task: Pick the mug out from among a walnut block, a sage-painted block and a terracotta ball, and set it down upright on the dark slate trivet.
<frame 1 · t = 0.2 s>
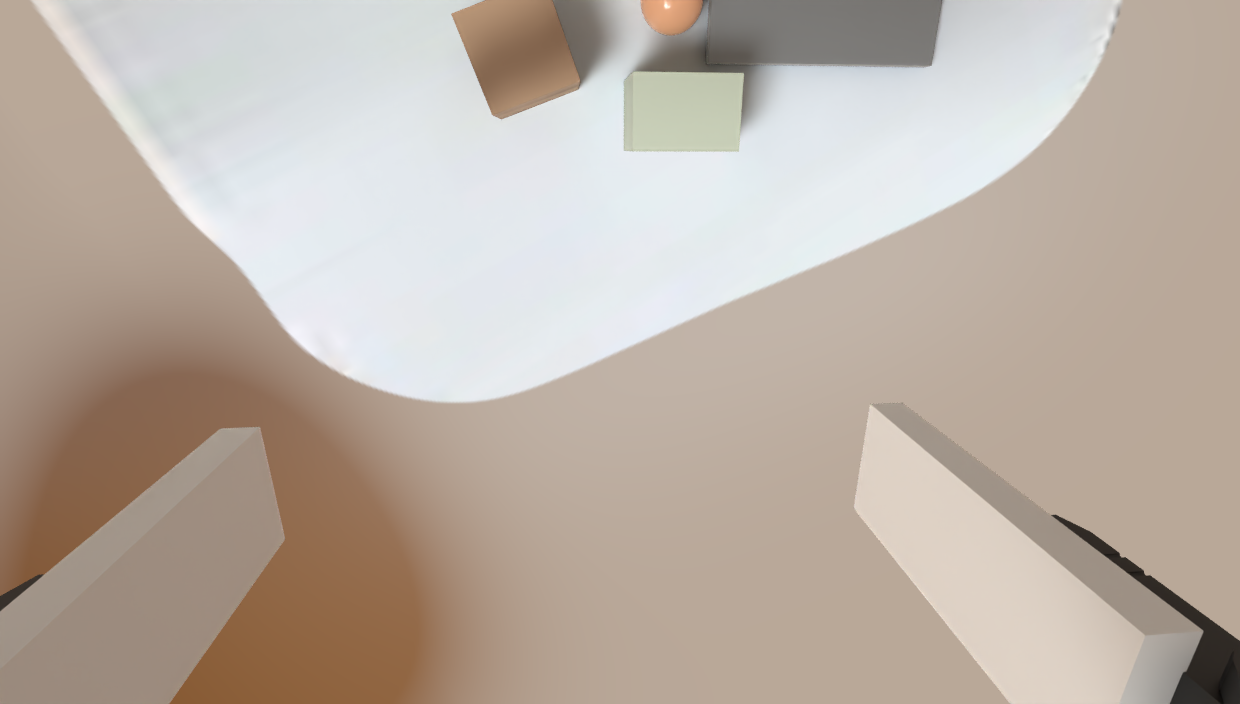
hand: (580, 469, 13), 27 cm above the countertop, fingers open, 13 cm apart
terracotta ball: (671, 0, 33), point 2 cm above the countertop
walnut block: (523, 61, 35), on the countertop
sage block: (671, 116, 37), on the countertop
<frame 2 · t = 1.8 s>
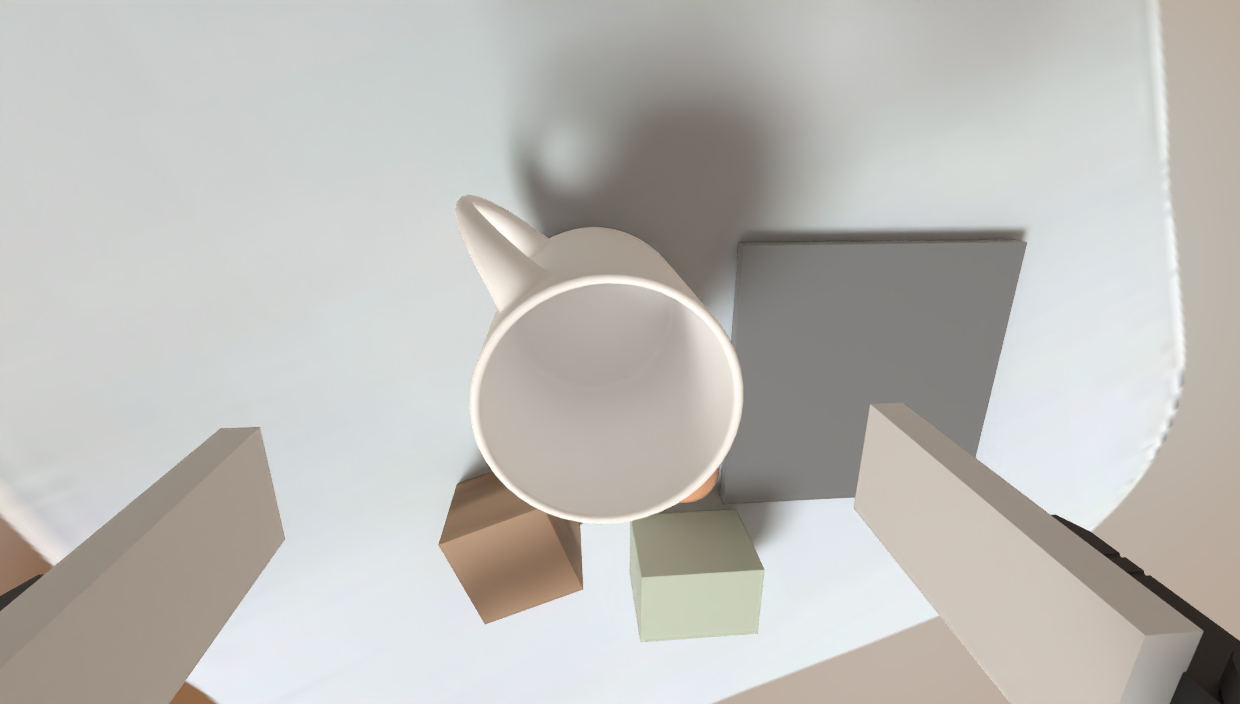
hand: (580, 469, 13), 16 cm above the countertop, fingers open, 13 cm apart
terracotta ball: (684, 467, 30), point 2 cm above the countertop
trivet: (859, 375, 31), on the countertop
walnut block: (520, 504, 32), on the countertop
sage block: (682, 540, 33), on the countertop
mug: (570, 286, 28), on the countertop
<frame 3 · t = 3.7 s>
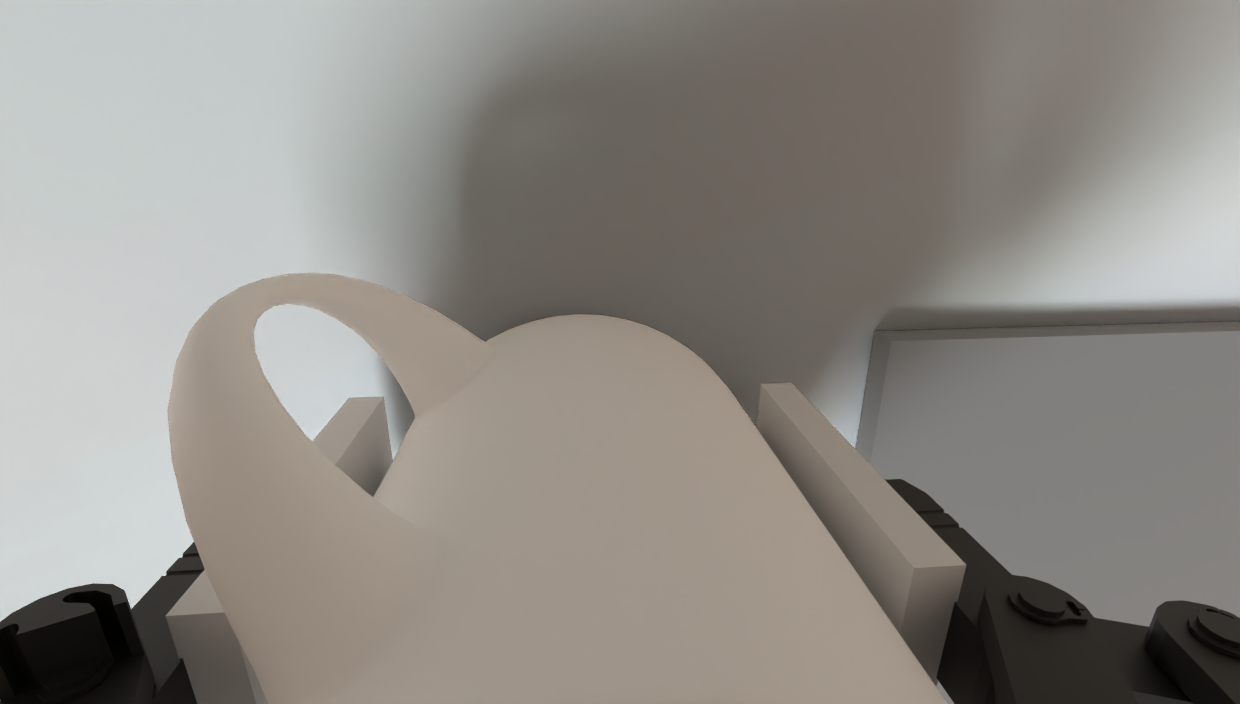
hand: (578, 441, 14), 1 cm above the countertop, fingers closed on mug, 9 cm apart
trivet: (1055, 540, 18), on the countertop
mug: (539, 412, 15), on the countertop, touching gripper
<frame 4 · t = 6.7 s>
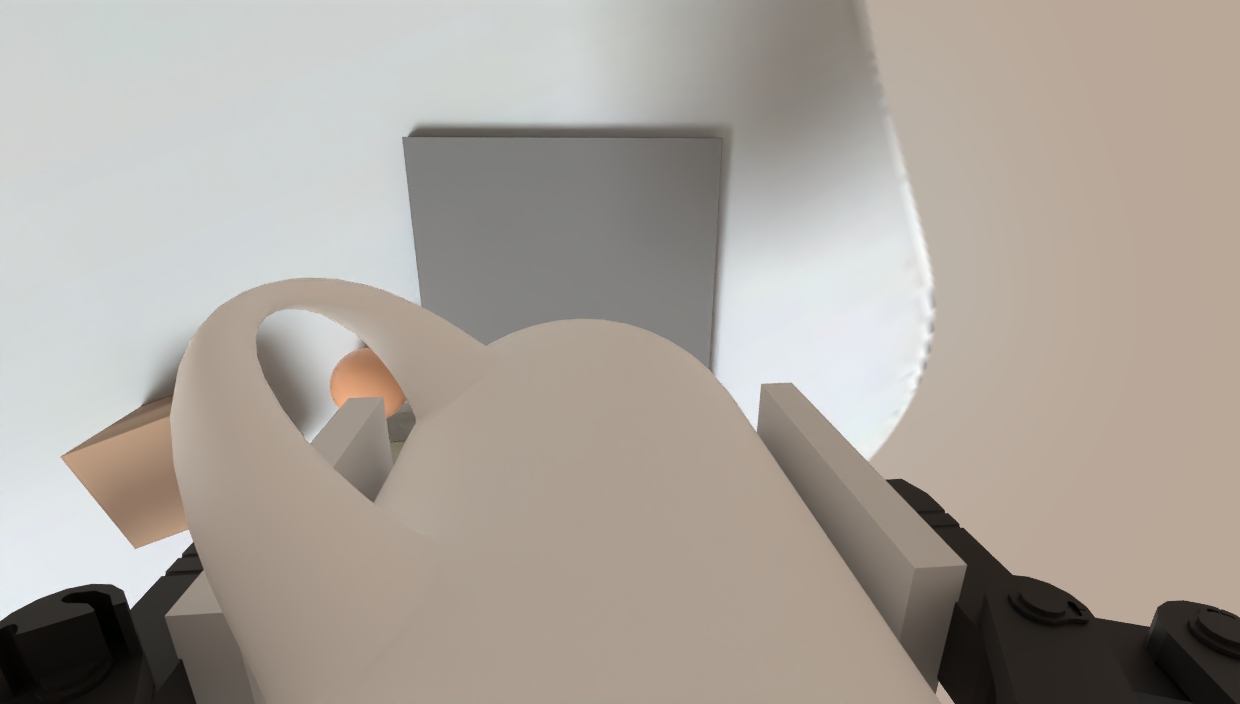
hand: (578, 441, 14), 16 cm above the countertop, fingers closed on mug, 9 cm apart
terracotta ball: (371, 384, 28), point 2 cm above the countertop
trivet: (570, 289, 29), on the countertop
walnut block: (217, 430, 30), on the countertop
mug: (540, 416, 15), point 14 cm above the countertop, touching gripper
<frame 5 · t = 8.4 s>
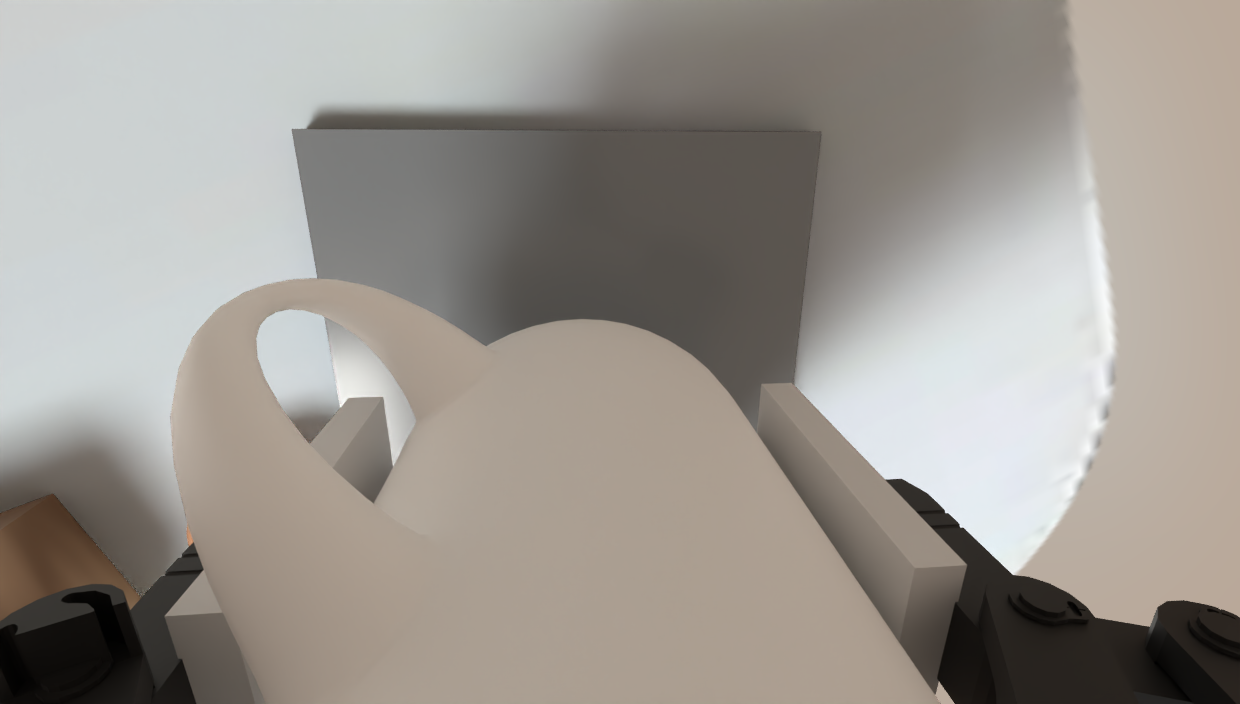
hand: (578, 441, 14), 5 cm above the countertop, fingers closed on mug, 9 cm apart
trivet: (573, 365, 19), on the countertop
walnut block: (36, 576, 19), on the countertop
mug: (540, 417, 15), point 4 cm above the countertop, touching gripper
when the fingers open (3 cm above the countertop, at t = 9.7 s): mug drops 1 cm, resting on trivet.
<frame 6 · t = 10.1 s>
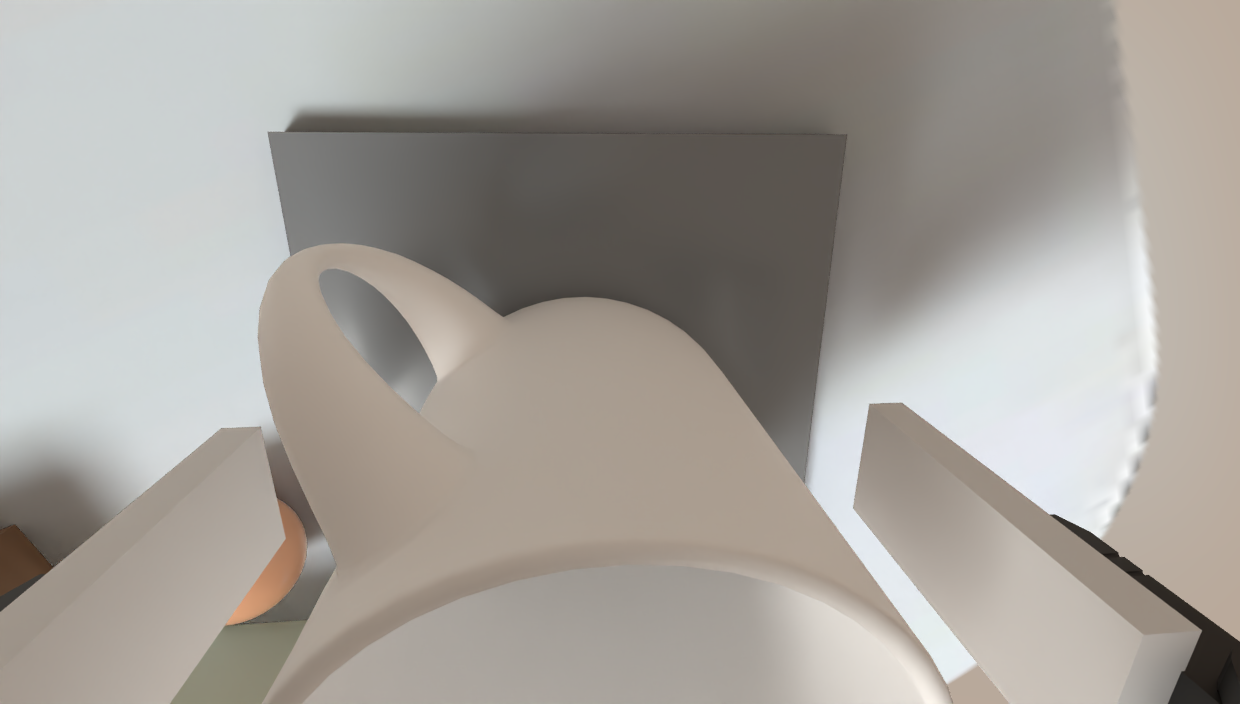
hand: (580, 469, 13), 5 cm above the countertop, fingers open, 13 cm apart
terracotta ball: (235, 556, 16), point 2 cm above the countertop
trivet: (575, 386, 17), on the countertop
sage block: (317, 664, 20), on the countertop
mug: (545, 388, 17), point 1 cm above the countertop, touching trivet
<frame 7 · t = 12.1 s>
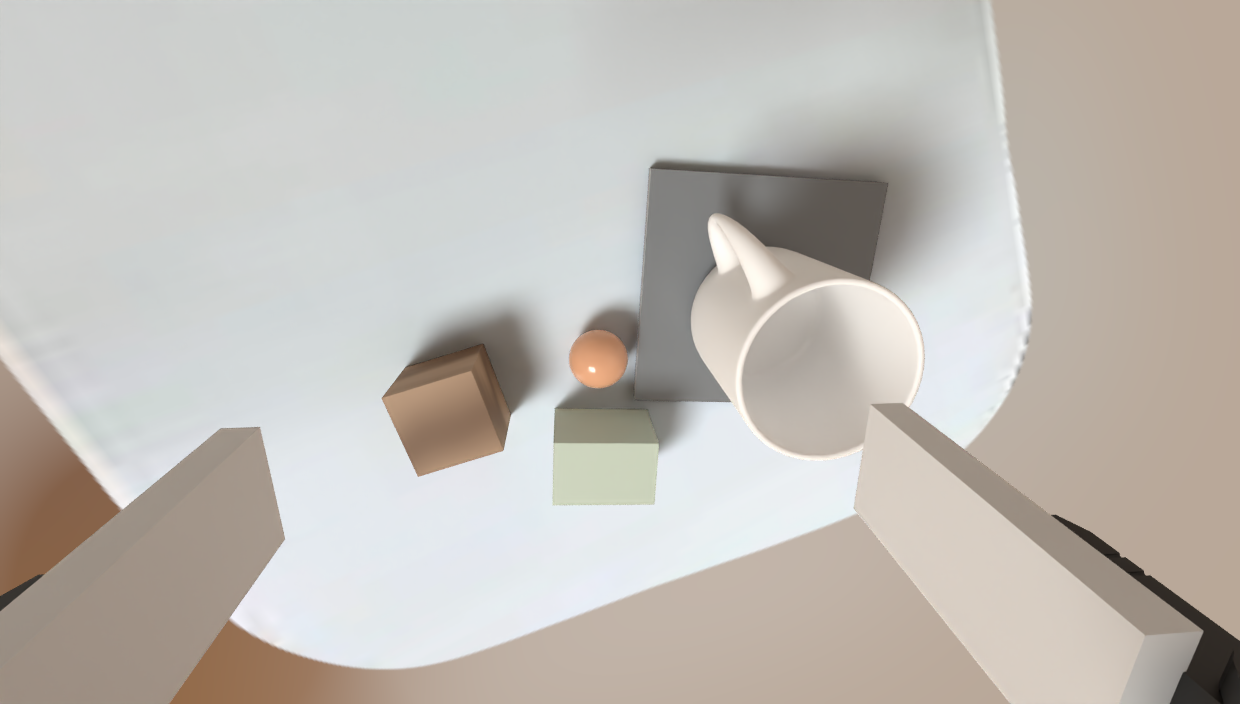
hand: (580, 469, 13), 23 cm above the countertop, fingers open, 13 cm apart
terracotta ball: (598, 359, 35), point 2 cm above the countertop
trivet: (752, 293, 36), on the countertop
walnut block: (459, 391, 37), on the countertop
sage block: (600, 436, 39), on the countertop
mug: (742, 290, 36), point 1 cm above the countertop, touching trivet
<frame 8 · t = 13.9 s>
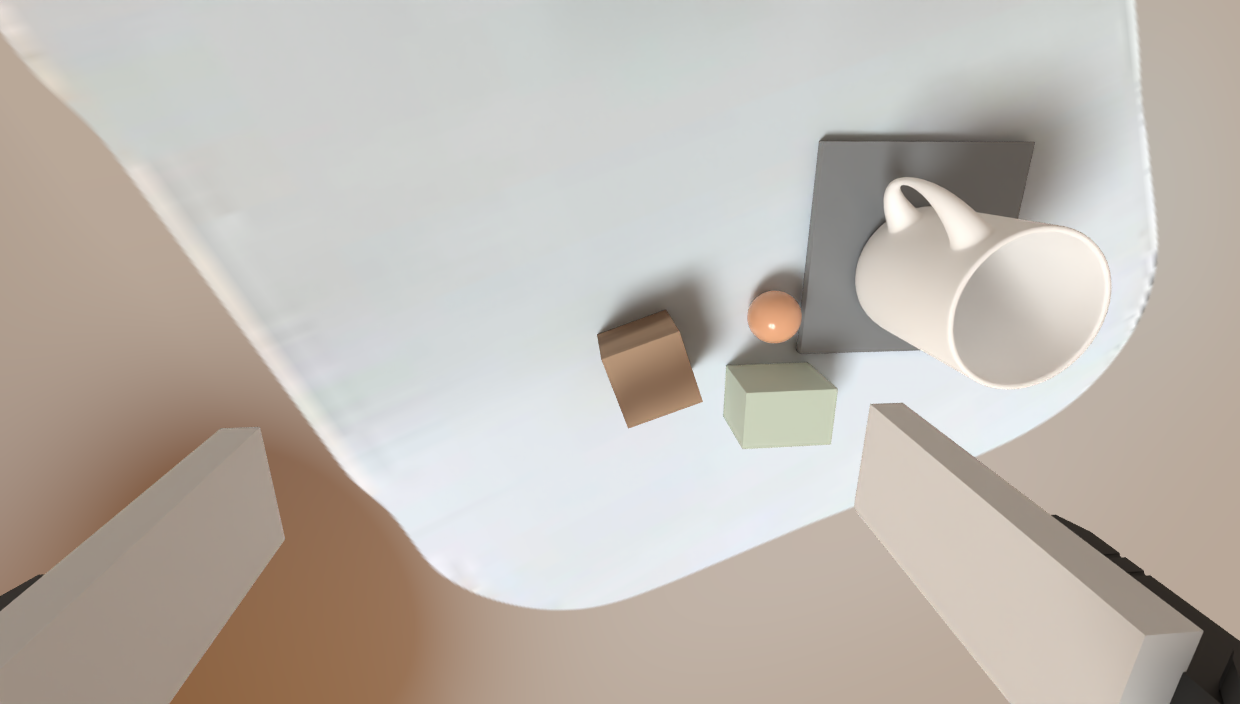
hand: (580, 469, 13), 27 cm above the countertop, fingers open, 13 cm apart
terracotta ball: (774, 317, 39), point 2 cm above the countertop
trivet: (906, 250, 40), on the countertop
walnut block: (642, 353, 41), on the countertop
sage block: (764, 389, 43), on the countertop
mug: (899, 248, 39), point 1 cm above the countertop, touching trivet
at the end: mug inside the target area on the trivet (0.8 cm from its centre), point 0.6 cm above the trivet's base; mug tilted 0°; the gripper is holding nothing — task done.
